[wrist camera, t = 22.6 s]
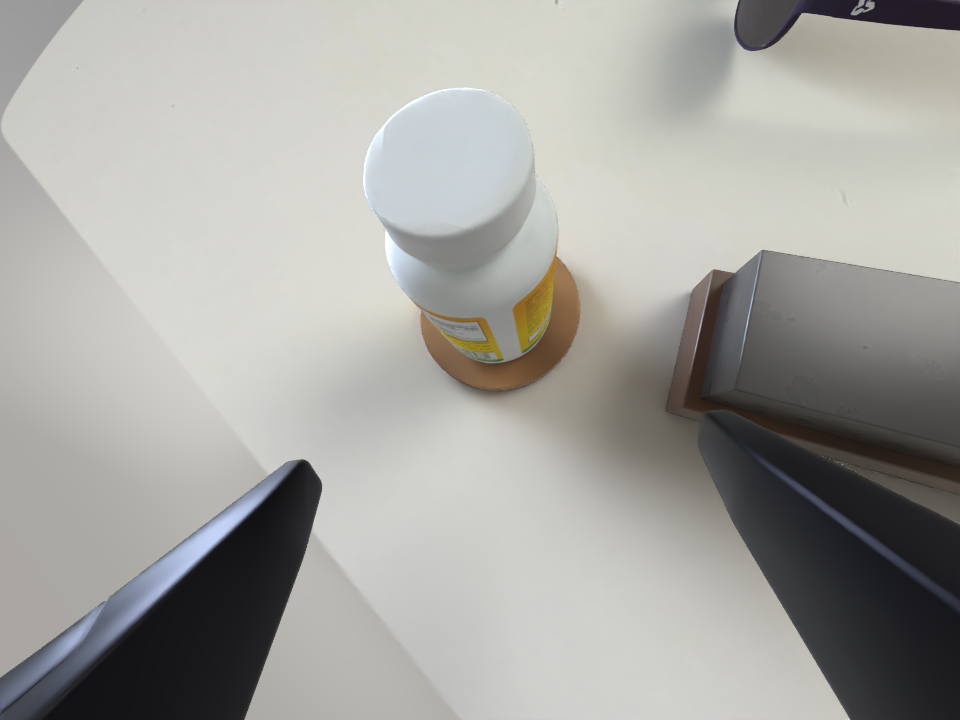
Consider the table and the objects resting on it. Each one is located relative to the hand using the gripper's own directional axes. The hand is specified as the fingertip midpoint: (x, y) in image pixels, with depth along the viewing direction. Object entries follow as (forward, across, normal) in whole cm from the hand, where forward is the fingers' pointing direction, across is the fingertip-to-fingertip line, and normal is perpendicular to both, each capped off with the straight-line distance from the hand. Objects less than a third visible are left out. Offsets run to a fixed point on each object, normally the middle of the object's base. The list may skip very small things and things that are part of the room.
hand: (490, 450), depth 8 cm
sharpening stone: (+6, -14, +5) cm, 16 cm away
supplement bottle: (+10, 0, +1) cm, 10 cm away
